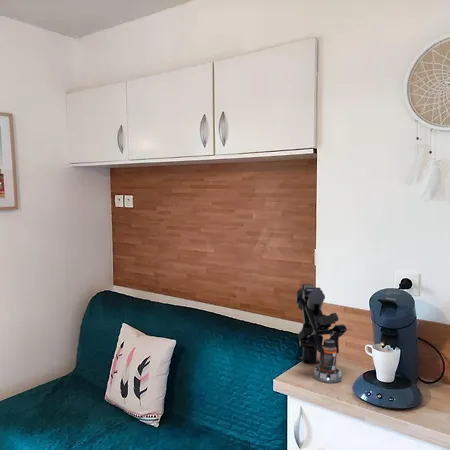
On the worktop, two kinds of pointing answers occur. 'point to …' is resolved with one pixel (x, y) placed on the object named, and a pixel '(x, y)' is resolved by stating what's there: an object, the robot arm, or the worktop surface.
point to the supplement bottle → (328, 356)
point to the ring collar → (327, 375)
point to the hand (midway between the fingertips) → (330, 353)
